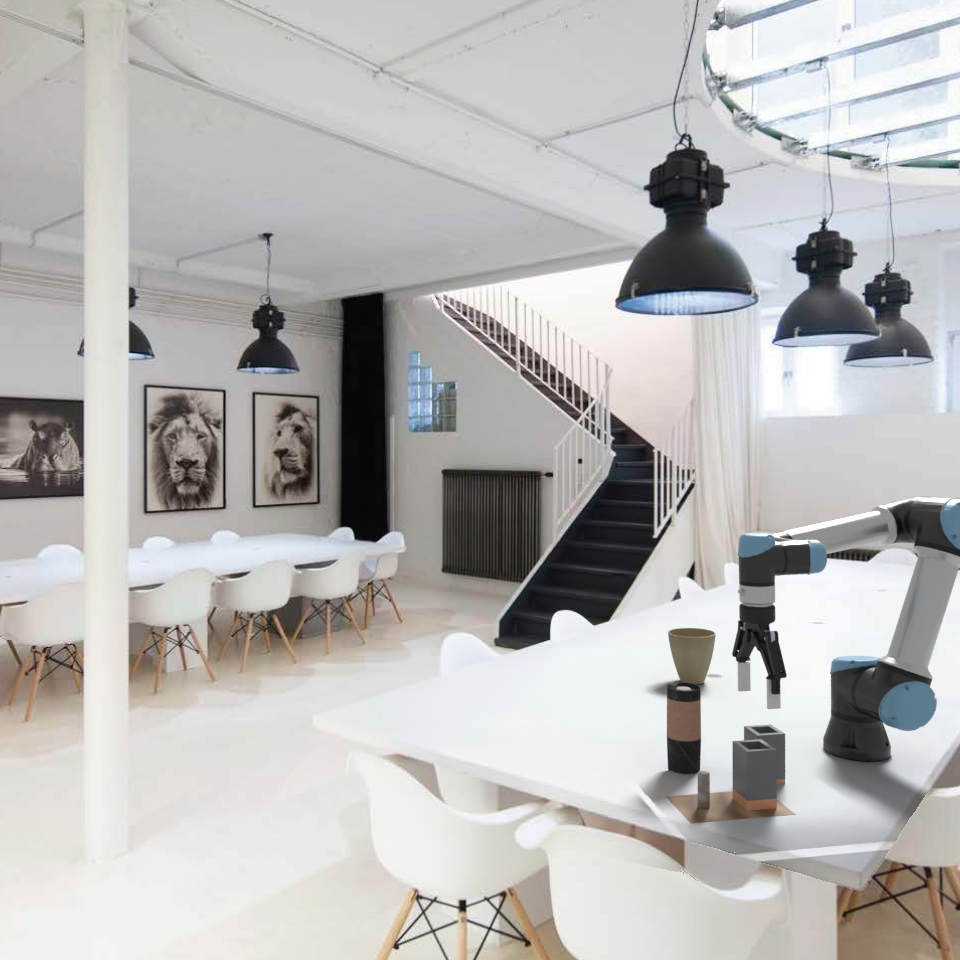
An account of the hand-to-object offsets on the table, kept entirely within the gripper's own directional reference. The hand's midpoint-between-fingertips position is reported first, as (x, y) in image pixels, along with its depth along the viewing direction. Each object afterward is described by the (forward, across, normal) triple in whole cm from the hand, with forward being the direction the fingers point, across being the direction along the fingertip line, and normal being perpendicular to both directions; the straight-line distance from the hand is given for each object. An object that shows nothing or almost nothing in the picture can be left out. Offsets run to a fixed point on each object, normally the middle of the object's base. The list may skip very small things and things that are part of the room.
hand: (758, 699), depth 186 cm
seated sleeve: (+18, +12, -7) cm, 23 cm away
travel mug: (+19, -9, -14) cm, 25 cm away
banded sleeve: (+19, 0, +1) cm, 19 cm away
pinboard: (+19, +12, -13) cm, 26 cm away
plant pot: (+19, -82, +19) cm, 86 cm away
